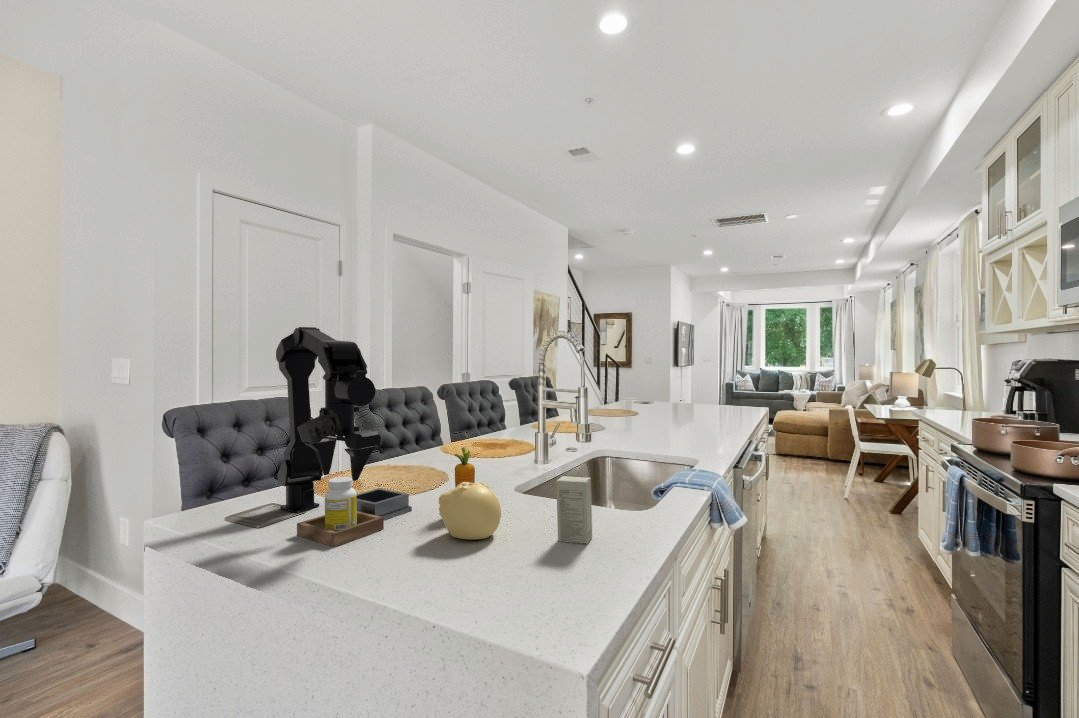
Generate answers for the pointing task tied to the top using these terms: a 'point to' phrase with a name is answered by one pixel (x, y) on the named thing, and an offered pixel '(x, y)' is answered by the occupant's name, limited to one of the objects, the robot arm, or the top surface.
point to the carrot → (464, 469)
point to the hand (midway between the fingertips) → (340, 477)
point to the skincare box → (574, 509)
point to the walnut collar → (317, 531)
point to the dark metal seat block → (383, 503)
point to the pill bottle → (340, 504)
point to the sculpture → (470, 511)
